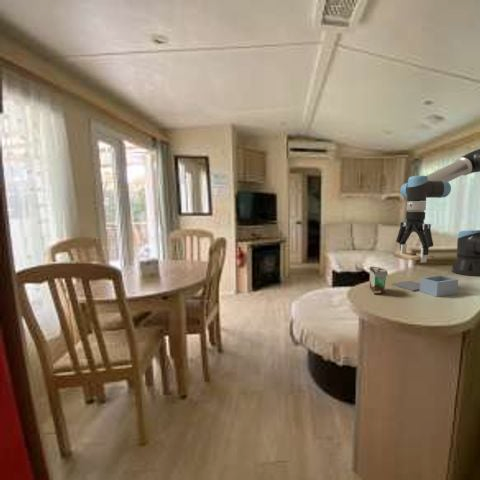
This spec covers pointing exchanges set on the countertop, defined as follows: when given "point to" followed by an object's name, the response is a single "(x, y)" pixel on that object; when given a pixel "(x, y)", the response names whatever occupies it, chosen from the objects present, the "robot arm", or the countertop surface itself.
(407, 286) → the mat
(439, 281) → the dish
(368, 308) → the countertop surface
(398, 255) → the lid
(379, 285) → the food container
